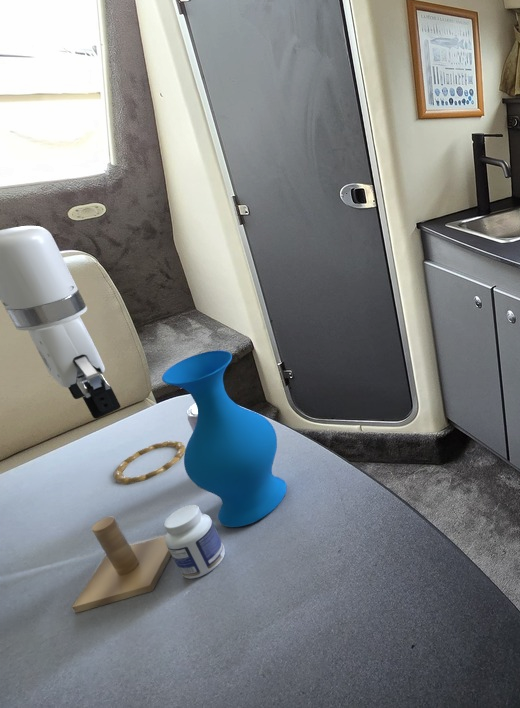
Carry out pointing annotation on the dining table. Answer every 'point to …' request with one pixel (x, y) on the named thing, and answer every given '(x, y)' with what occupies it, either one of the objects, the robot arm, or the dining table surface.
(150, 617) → the dining table surface
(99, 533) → the wooden base with post
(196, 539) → the pill bottle
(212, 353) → the vase
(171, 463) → the ring
